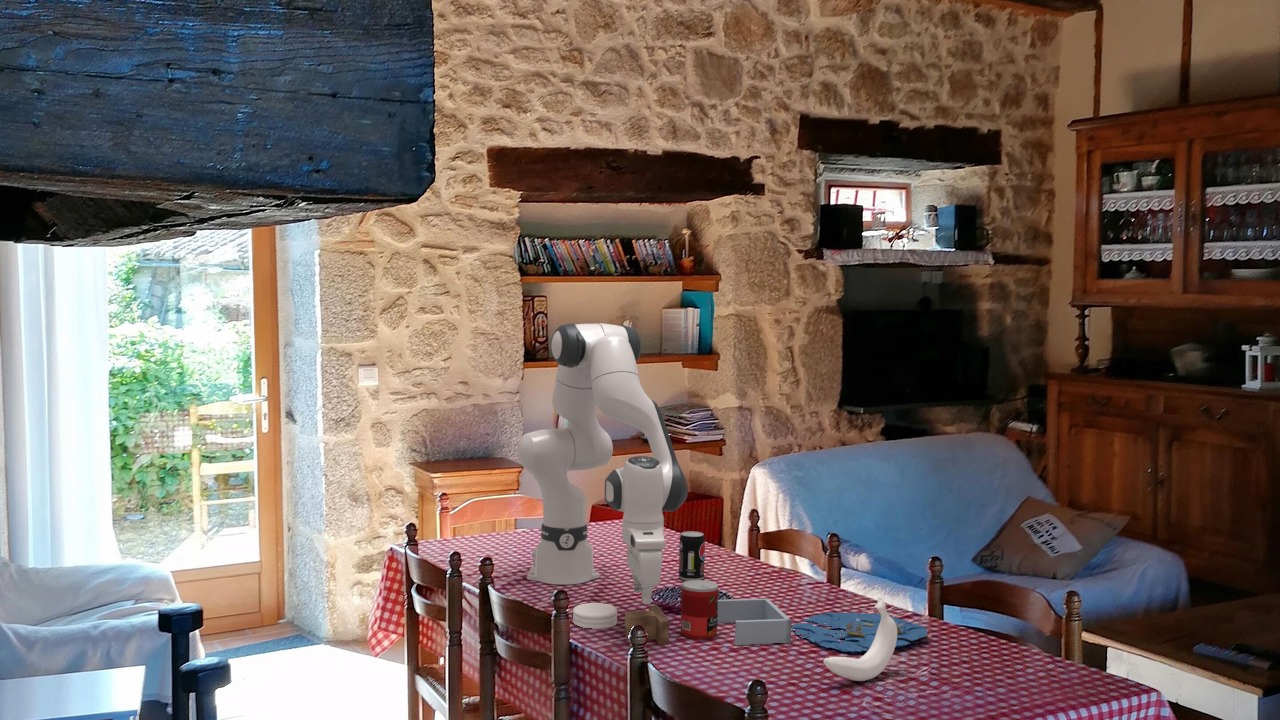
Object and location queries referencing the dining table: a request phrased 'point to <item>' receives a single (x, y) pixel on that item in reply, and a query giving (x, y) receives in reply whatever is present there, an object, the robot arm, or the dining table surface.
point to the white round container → (595, 615)
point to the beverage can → (691, 556)
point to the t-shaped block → (649, 623)
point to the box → (755, 621)
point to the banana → (869, 652)
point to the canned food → (699, 609)
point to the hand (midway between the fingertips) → (642, 597)
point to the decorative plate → (854, 630)
